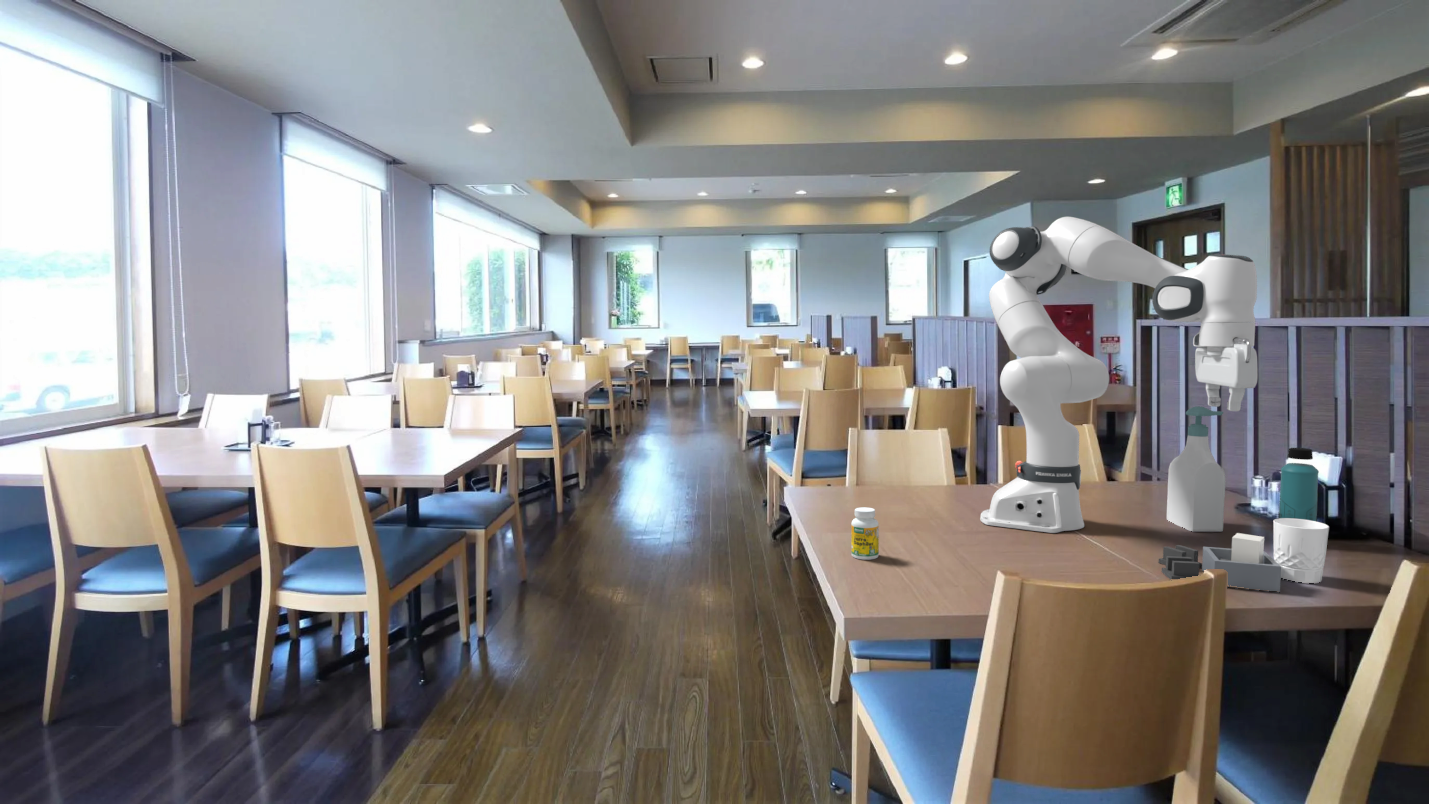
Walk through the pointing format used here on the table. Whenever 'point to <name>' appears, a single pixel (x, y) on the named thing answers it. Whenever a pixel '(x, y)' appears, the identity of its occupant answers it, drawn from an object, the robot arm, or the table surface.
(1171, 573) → the clip
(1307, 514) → the beverage bottle
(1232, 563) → the gray square tray
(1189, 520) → the soap bottle
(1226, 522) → the table surface
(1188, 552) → the clip
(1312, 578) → the white cup
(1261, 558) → the block
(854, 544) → the supplement bottle
